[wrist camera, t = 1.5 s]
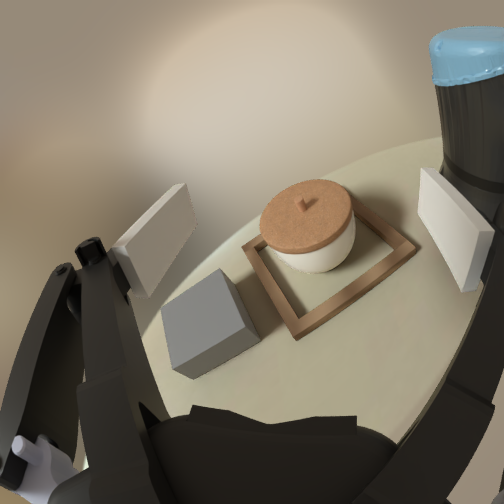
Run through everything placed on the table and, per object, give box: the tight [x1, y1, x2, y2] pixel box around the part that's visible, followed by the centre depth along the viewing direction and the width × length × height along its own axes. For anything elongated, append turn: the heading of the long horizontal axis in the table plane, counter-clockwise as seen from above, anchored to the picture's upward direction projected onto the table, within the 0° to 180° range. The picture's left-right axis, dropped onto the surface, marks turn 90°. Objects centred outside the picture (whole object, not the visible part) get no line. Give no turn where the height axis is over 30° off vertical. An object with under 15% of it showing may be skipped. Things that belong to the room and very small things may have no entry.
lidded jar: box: [260, 179, 356, 274], centre depth 33 cm, size 11×11×9 cm
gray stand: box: [161, 268, 261, 379], centre depth 34 cm, size 10×10×4 cm
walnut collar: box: [242, 194, 416, 341], centre depth 35 cm, size 17×17×1 cm
